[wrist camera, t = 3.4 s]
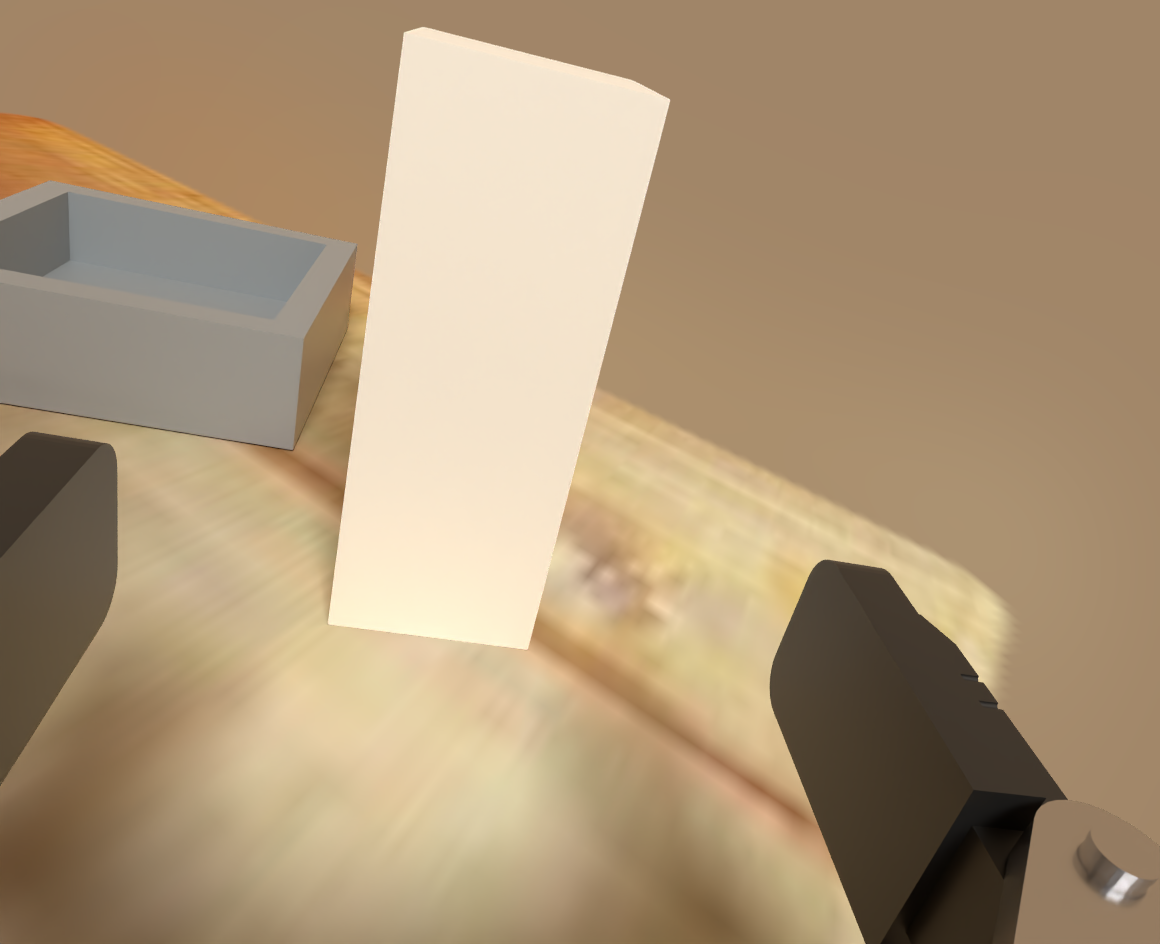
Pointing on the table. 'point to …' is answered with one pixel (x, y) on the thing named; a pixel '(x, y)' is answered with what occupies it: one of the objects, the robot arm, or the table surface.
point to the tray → (166, 314)
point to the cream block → (485, 332)
